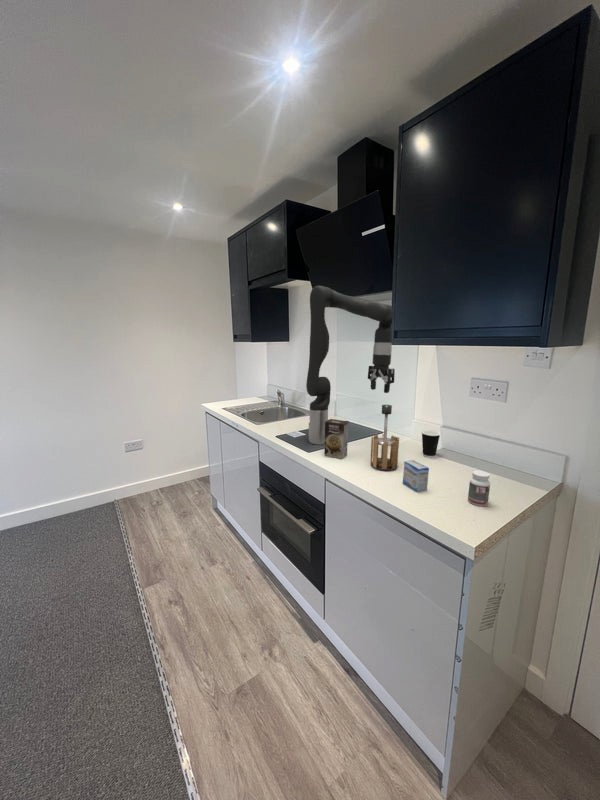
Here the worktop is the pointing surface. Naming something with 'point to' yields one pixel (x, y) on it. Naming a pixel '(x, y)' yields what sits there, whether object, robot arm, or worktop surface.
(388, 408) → the plunger
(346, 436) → the coffee box
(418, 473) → the medicine box
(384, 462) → the press carafe
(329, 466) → the worktop surface
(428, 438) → the dixie cup
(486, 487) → the pill bottle
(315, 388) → the robot arm
